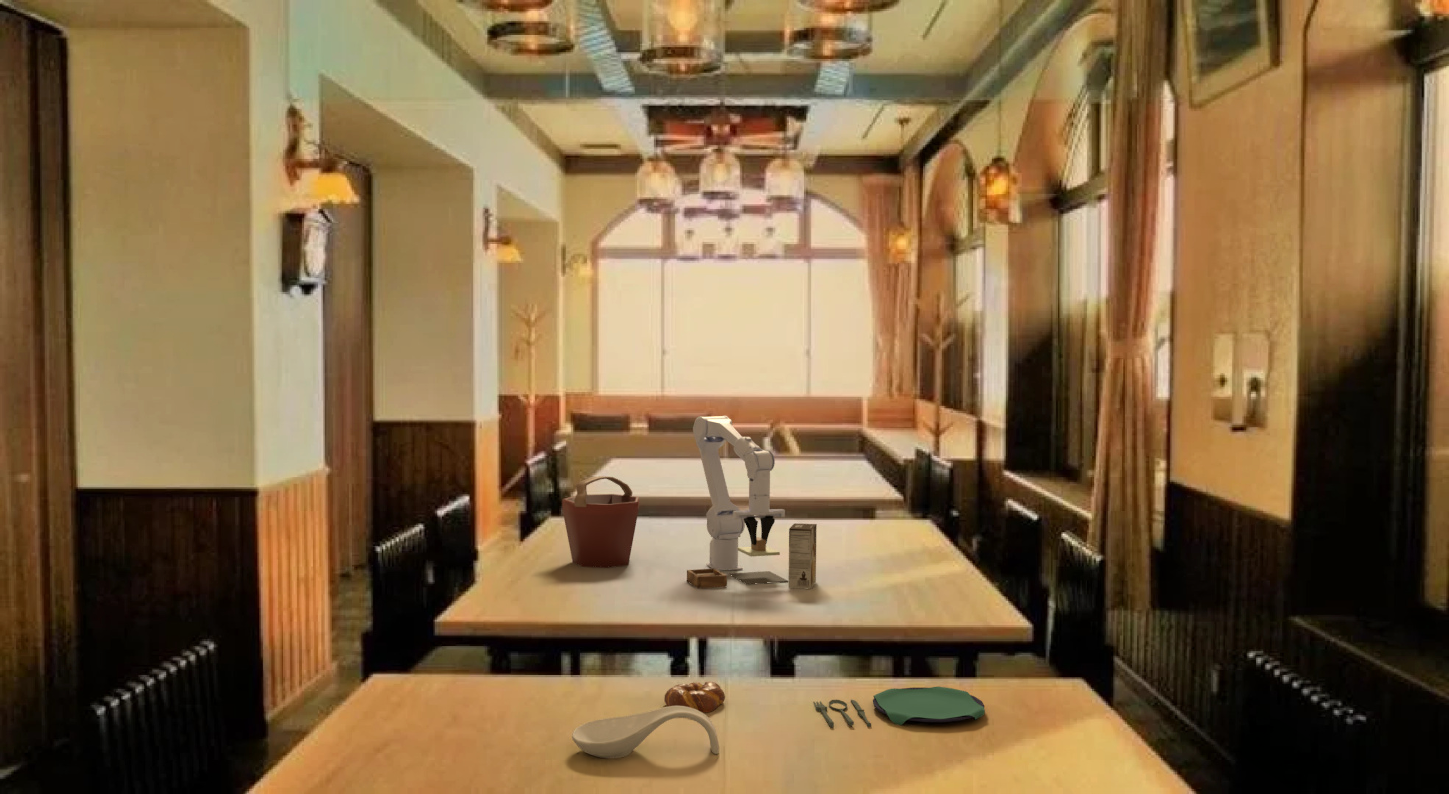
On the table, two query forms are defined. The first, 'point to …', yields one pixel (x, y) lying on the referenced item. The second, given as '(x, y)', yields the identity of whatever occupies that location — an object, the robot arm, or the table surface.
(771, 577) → the mat
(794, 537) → the coffee box
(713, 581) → the box
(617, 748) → the spoon rest
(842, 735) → the table surface
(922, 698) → the cutlery set
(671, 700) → the pretzel
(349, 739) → the table surface
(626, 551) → the bucket
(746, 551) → the lid
